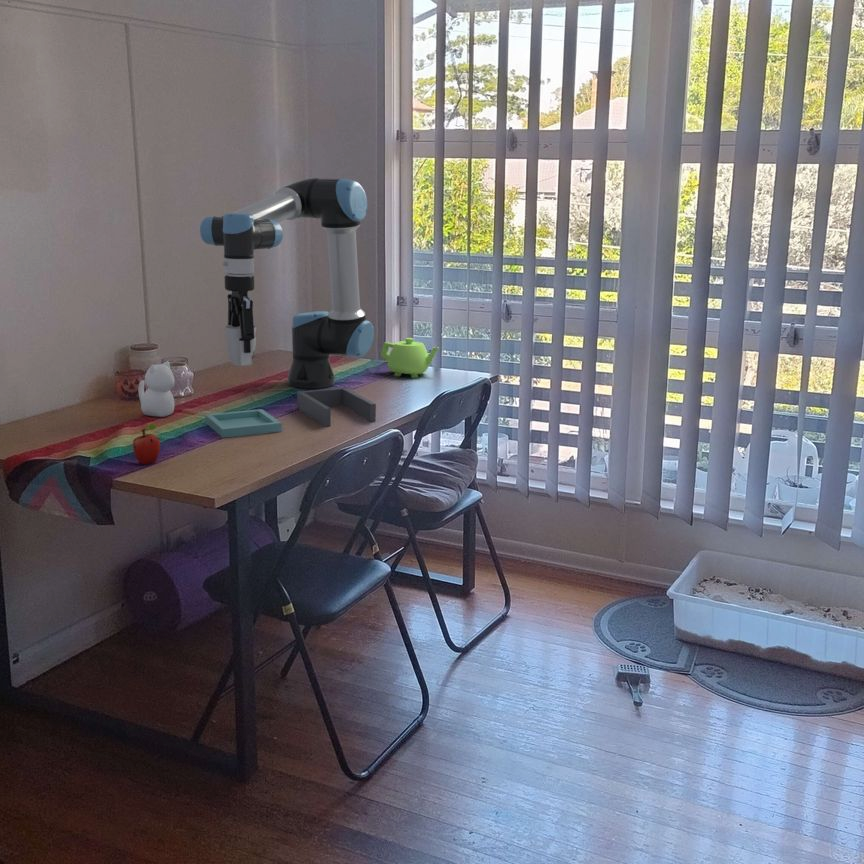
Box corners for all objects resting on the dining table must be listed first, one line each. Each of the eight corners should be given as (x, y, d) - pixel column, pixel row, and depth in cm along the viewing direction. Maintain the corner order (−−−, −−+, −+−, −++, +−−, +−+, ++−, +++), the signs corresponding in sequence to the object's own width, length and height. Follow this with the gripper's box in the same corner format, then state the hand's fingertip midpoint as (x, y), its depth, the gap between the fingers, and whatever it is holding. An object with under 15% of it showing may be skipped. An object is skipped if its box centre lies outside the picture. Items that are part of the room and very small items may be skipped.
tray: (205, 422, 262) (205, 414, 261) (262, 417, 270) (261, 409, 269) (222, 437, 249) (222, 429, 248) (281, 431, 256) (281, 423, 255)
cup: (250, 368, 250) (249, 329, 247) (220, 366, 251) (219, 328, 249) (261, 362, 257) (261, 325, 255) (233, 360, 259) (232, 323, 256)
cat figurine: (161, 421, 263) (159, 367, 259) (127, 414, 268) (125, 361, 264) (184, 414, 270) (182, 362, 266) (150, 407, 276) (148, 356, 272)
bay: (297, 408, 280) (297, 391, 279) (344, 403, 287) (344, 387, 286) (325, 426, 262) (325, 408, 260) (375, 421, 269) (375, 403, 267)
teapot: (442, 373, 333) (443, 337, 329) (431, 381, 320) (433, 343, 317) (387, 368, 337) (387, 333, 334) (374, 376, 325) (375, 339, 322)
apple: (125, 464, 225) (123, 423, 222) (143, 457, 231) (141, 416, 228) (153, 469, 222) (150, 427, 219) (170, 461, 228) (168, 420, 226)
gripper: (213, 270, 255) (216, 355, 261) (237, 279, 238) (239, 370, 244) (241, 270, 258) (243, 353, 265) (266, 278, 241) (267, 368, 247)
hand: (241, 361), depth 254 cm, fingers closed on cup, 8 cm apart
